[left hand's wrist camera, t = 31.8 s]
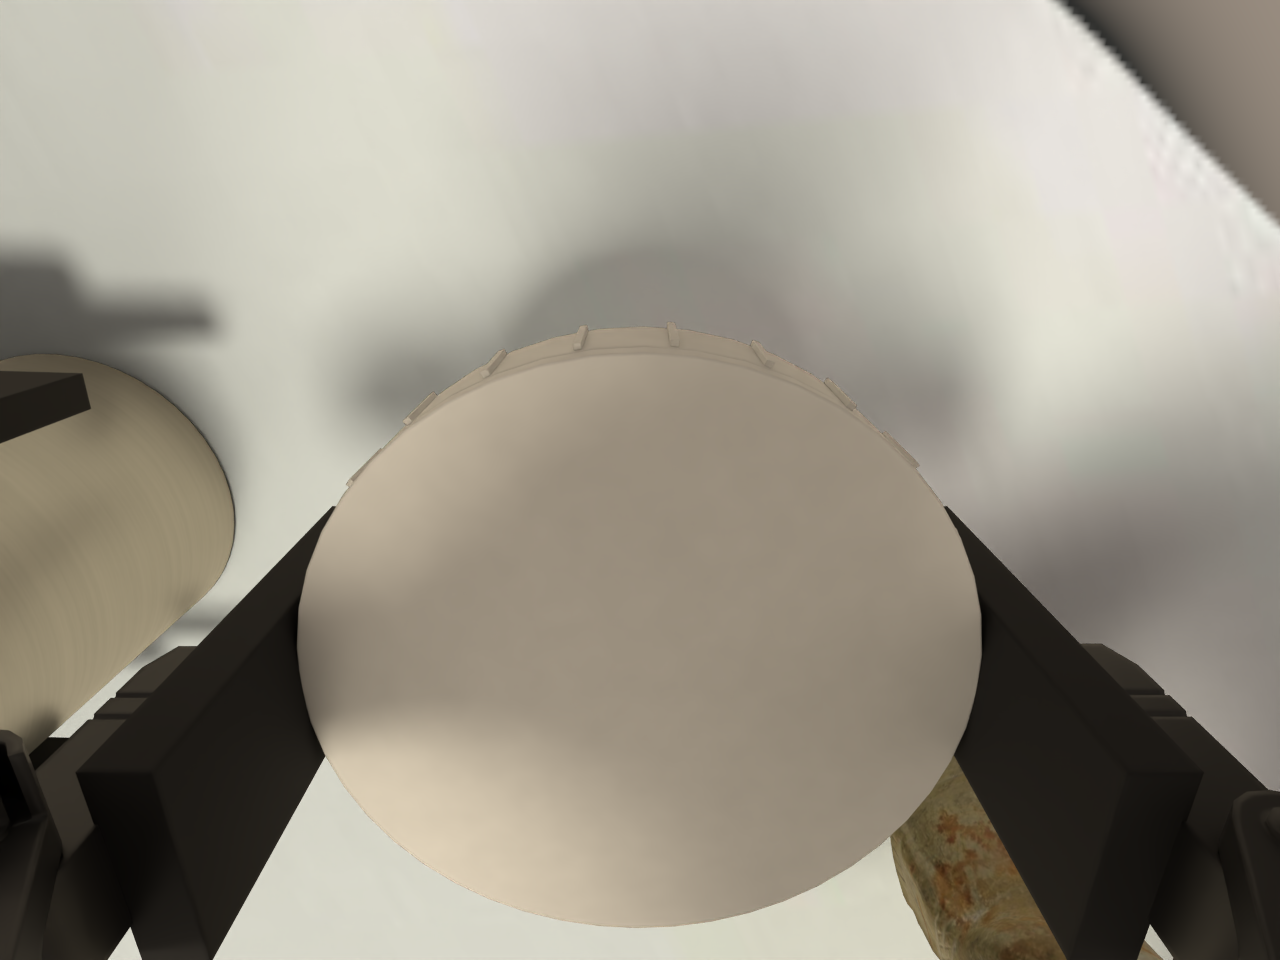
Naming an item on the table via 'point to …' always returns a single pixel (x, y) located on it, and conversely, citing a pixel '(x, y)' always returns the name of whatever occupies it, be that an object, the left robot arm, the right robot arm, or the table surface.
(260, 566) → the table surface
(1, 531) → the jar
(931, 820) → the sculpture
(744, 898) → the lid
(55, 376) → the right robot arm
